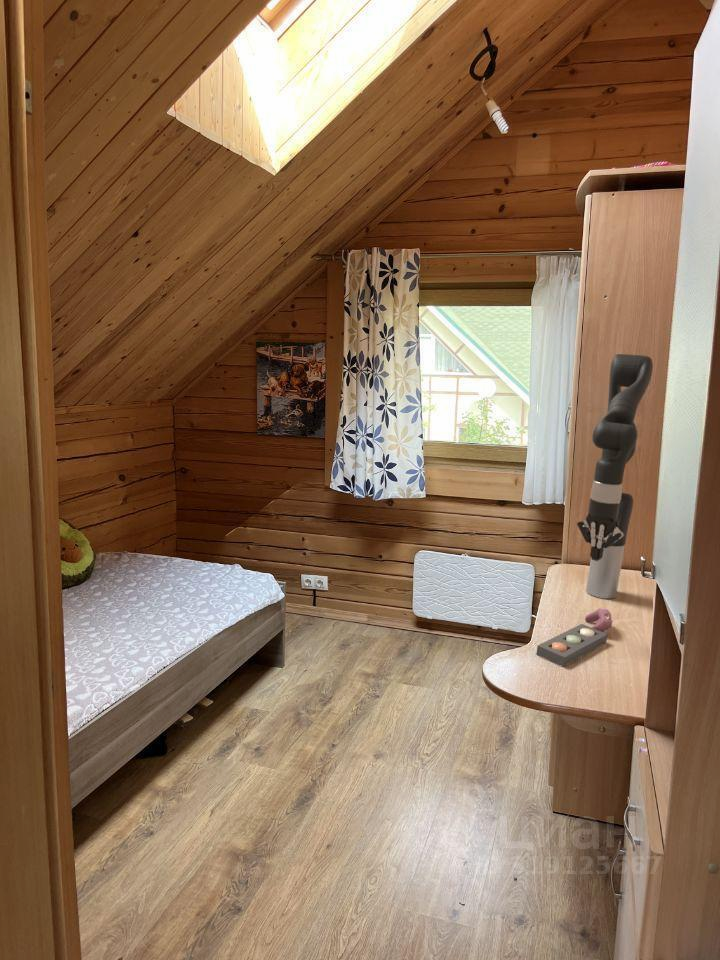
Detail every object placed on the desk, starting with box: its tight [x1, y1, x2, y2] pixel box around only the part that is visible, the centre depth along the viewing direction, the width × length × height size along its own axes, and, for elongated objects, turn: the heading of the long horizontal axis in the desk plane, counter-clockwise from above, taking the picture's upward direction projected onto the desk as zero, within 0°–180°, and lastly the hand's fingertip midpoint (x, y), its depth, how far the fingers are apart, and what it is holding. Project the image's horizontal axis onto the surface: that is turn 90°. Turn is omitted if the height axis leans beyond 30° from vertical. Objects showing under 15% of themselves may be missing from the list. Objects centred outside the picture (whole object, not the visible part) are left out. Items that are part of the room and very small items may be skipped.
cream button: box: [580, 628, 594, 638], centre depth 182 cm, size 4×4×2 cm
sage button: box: [566, 635, 581, 645], centre depth 177 cm, size 4×4×2 cm
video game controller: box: [584, 607, 613, 633], centre depth 190 cm, size 10×5×7 cm
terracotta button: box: [552, 642, 567, 652], centre depth 173 cm, size 4×4×2 cm
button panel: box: [535, 623, 608, 667], centre depth 178 cm, size 22×8×2 cm, turn 133°
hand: (595, 559), depth 184 cm, fingers closed
